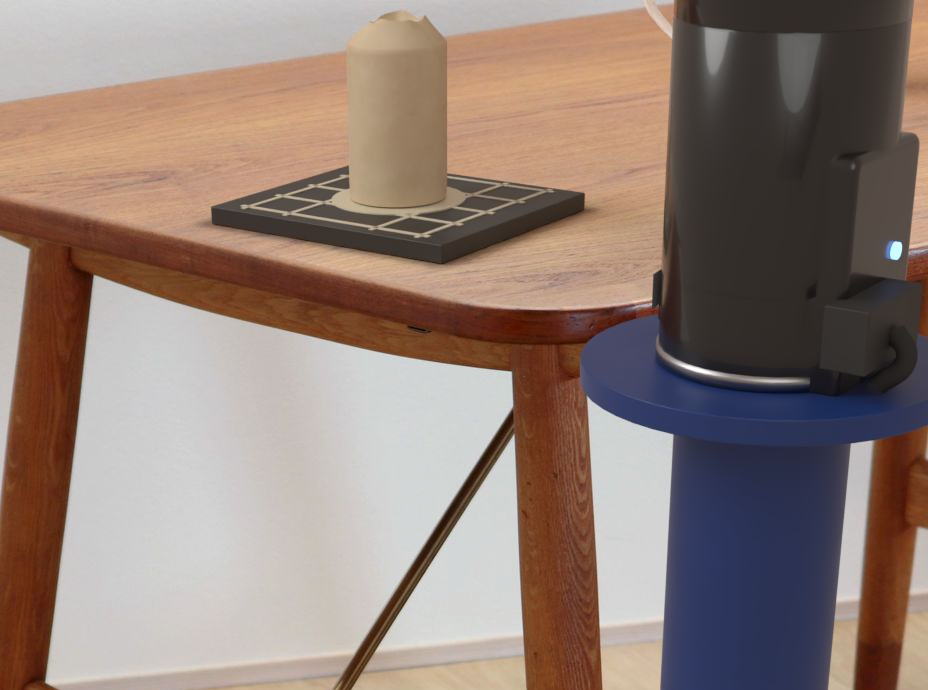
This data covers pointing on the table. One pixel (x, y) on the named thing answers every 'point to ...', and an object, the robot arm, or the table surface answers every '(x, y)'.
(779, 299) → the robot arm
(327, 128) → the table surface
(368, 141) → the candle
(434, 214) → the board
